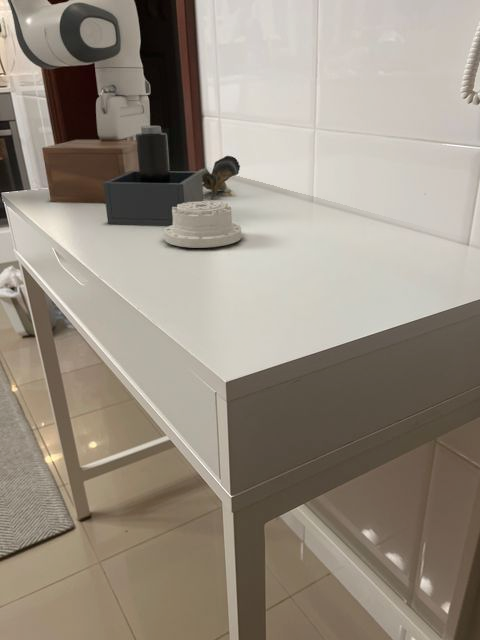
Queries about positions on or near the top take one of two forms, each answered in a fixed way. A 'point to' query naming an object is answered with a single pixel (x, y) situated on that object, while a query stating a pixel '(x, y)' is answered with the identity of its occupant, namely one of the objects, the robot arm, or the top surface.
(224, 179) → the toy chipmunk
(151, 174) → the spray can
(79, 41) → the robot arm
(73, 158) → the cabinet
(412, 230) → the top surface
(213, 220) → the mechanical component
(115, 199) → the bin
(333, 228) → the top surface
